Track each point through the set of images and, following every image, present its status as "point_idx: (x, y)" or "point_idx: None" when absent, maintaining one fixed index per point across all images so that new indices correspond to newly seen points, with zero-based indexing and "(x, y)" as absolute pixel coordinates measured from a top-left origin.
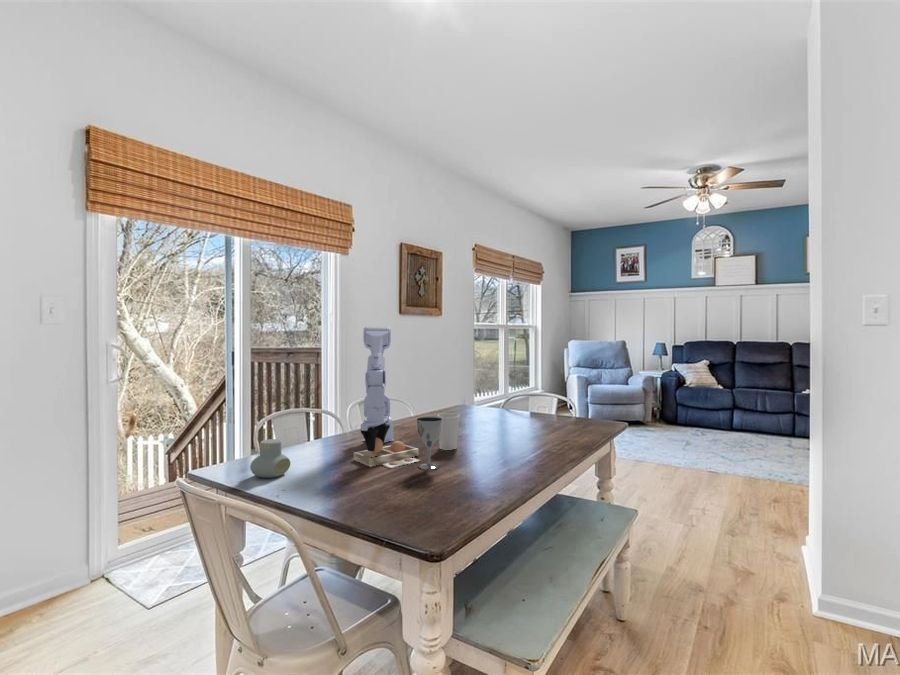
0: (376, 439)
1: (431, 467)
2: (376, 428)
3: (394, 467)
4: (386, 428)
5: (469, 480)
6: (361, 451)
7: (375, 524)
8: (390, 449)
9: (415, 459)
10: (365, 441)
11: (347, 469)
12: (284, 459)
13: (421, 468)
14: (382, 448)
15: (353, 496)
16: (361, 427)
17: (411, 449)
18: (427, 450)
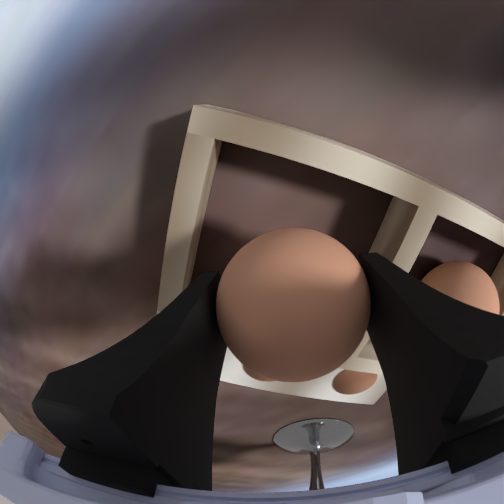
0: (269, 377)
1: (296, 451)
2: (432, 389)
3: (235, 379)
4: (399, 471)
5: (258, 491)
6: (265, 135)
7: (20, 427)
8: (434, 282)
9: (378, 388)
10: (156, 318)
11: (65, 224)
12: None
13: (279, 436)
14: (445, 216)
15: (11, 377)
16: (3, 461)
17: None
18: (310, 489)
